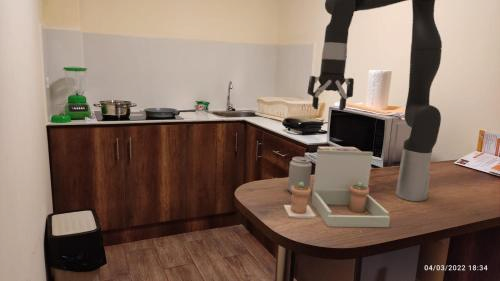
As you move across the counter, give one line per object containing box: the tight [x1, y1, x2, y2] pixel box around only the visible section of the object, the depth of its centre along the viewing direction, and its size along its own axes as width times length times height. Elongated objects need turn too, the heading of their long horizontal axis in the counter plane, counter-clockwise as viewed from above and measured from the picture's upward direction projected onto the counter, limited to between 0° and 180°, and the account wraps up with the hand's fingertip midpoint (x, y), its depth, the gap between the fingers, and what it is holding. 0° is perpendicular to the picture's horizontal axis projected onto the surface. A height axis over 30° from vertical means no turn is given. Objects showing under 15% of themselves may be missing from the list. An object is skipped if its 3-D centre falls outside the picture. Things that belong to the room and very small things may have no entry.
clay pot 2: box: [348, 182, 370, 213], centre depth 116 cm, size 6×6×9 cm
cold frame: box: [311, 150, 391, 228], centre depth 110 cm, size 18×17×18 cm
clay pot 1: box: [290, 182, 312, 214], centre depth 110 cm, size 6×6×9 cm
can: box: [287, 156, 312, 193], centre depth 128 cm, size 8×8×12 cm
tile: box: [283, 204, 317, 219], centre depth 111 cm, size 8×8×1 cm
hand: (328, 109), depth 119 cm, fingers open, 8 cm apart
